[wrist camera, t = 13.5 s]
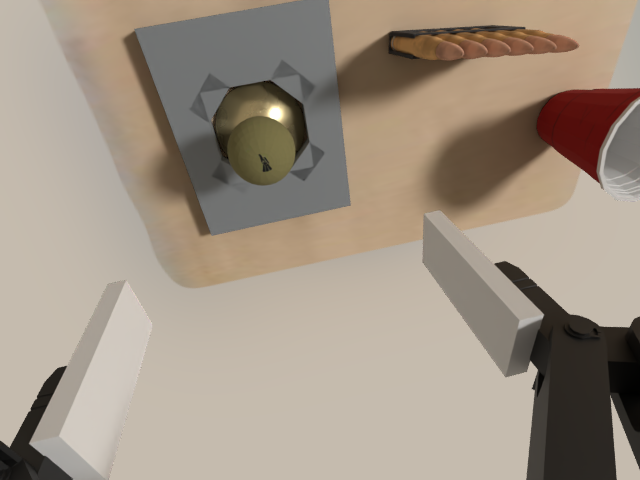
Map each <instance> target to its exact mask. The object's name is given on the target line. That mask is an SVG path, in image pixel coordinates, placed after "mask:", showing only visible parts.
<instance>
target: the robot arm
mask: <svg viewBox="0 0 640 480" xmlns="http://www.w3.org/2000/svg"><path fill="white" fill-rule="evenodd" d="M423 263H424V265H425V266H426V268H427V269H428V270H429V272H430V273H431V274H432V276H433V277H434V279H435V280H436V281H437V283H438V284H439V286H440V287H441V288H442V289H443V291H444V293H445V294H446V295H447V297H448V298H449V299H450V301H451V302H452V304H453V305H454V306H455V308H456V309H457V311H458V312H459V313H460V315H461V316H462V317H463V319H464V320H465V322H466V323H467V324H468V326H469V327H470V329H471V330H472V331H473V333H474V334H475V336H476V337H477V338H478V340H479V341H480V342H481V344H482V345H483V347H484V348H485V349H486V351H487V352H488V354H489V355H490V356H491V358H492V359H493V361H494V362H495V363H496V365H497V366H498V367H499V369H500V370H501V371H502V373H503V374H504V376H505V377H508V376H512V375H516V374H520V373H524V372H527V369H528V366H529V362H530V361H531V362H532V363H533V364H534V365H535V366H536V368H537V369H538V372H537V375H536V378H535V381H534V384H533V388H532V389H533V390H535V397H534V406H533V416H532V427H531V437H530V447H529V458H528V469H527V479H526V480H617V479H616V465H615V452H614V439H613V427H612V426H613V425H612V413H611V399H610V395H611V398H612V400H613V403H614V405H615V408H616V411H617V413H618V416H619V418H620V421H621V423H622V425H623V428H624V431H625V433H626V436H627V438H628V441H629V443H630V446H631V448H632V451H633V454H634V456H635V459H636V461H637V464H638V466H639V469H640V317H638V318H635V319H634V320H633V322H632V324H631V326H630V328H627V327H600V326H598V325H597V324H596V323H594V322H593V321H591V320H589V319H587V318H584V317H581V316H578V315H570V314H568V313H567V312H566V311H565V310H564V309H562V307H561V306H559V305H558V304H557V303H556V302H555V301H554V300H553V299H552V298H551V297H550V296H549V295H548V294H546V293H545V292H544V291H543V290H542V289H541V288H540V287H539V286H537V284H536V283H535V282H533V280H531V279H529V277H528V276H527V275H526V274H525V273H524V272H523V271H522V270H521V269H519V268H518V267H516V266H514V265H512V264H510V263H508V262H506V261H504V262H500V263H495V264H493V263H492V262H491V261H490V260H489V259H488V258H487V257H486V256H485V255H484V254H483V253H482V252H481V251H480V250H479V249H478V248H477V247H476V246H475V245H474V244H473V243H472V242H471V241H470V240H469V239H468V238H467V237H466V236H465V235H464V234H463V233H462V232H461V231H460V230H459V229H458V228H457V227H456V226H455V225H454V224H453V223H452V222H451V221H450V220H449V219H448V218H447V217H446V216H445V215H444V214H443V213H442V212H441V211H440V210H438V211H434V212H429V213H425V214H424V225H423ZM151 329H152V323H151V321H150V319H149V318H148V316H147V314H146V312H145V311H144V309H143V307H142V306H141V304H140V302H139V301H138V299H137V297H136V295H135V294H134V292H133V290H132V289H131V287H130V285H129V284H128V282H127V280H124V281H119V282H115V283H110V284H108V285H107V287H106V289H105V291H104V293H103V295H102V297H101V299H100V301H99V303H98V305H97V307H96V309H95V311H94V313H93V315H92V317H91V319H90V321H89V323H88V325H87V328H86V329H85V331H84V333H83V335H82V337H81V340H80V341H79V343H78V345H77V348H76V349H75V352H74V354H73V356H72V358H71V360H70V362H69V364H68V366H64V367H60V368H57V369H56V370H55V371H54V372H53V374H52V375H51V376H50V377H49V378H48V379H47V380H46V381H45V383H44V384H43V387H42V388H41V390H40V392H39V394H38V396H37V399H36V400H35V401H34V403H33V405H32V407H31V411H30V412H28V414H27V416H26V418H25V420H24V422H23V424H22V426H21V427H20V429H19V431H18V433H17V435H16V437H15V439H14V441H13V442H12V444H11V446H10V448H9V447H8V446H6V445H5V444H4V443H3V442H1V441H0V480H109V476H110V473H111V469H112V466H113V462H114V459H115V455H116V452H117V448H118V445H119V441H120V438H121V434H122V431H123V427H124V424H125V420H126V417H127V413H128V410H129V406H130V403H131V399H132V396H133V392H134V389H135V385H136V382H137V378H138V375H139V371H140V368H141V364H142V361H143V357H144V354H145V350H146V347H147V343H148V340H149V336H150V333H151Z"/></svg>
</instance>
